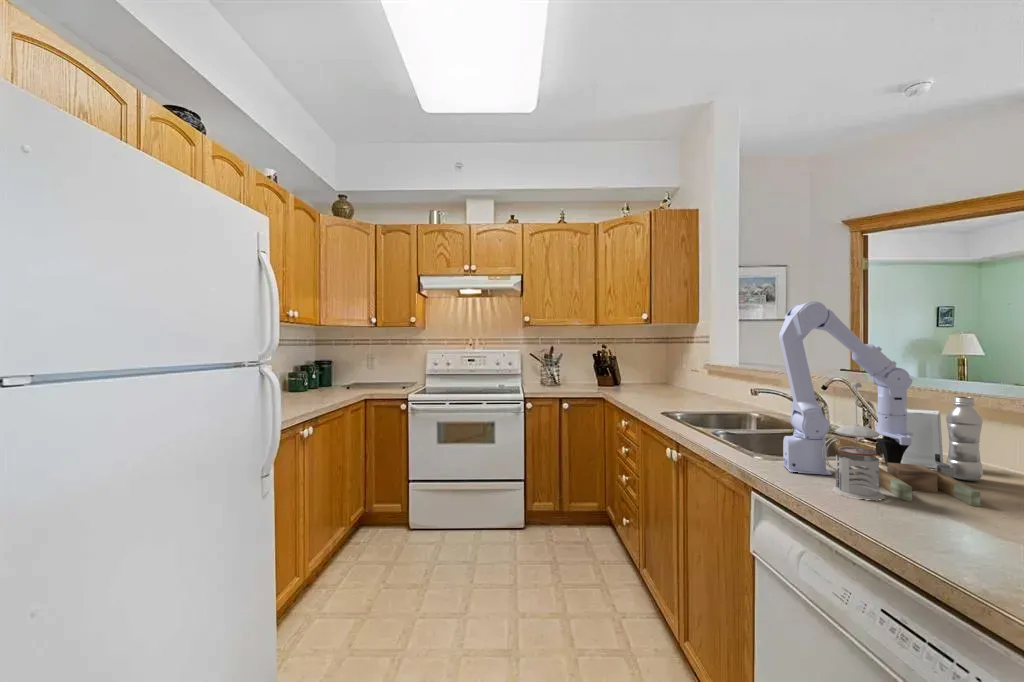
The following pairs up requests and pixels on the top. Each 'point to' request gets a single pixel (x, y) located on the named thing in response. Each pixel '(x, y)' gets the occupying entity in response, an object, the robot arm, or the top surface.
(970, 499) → the bay
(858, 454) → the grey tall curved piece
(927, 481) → the box
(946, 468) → the crank handle cylinder
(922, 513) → the top surface
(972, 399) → the silver metal bottle
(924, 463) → the skincare box
